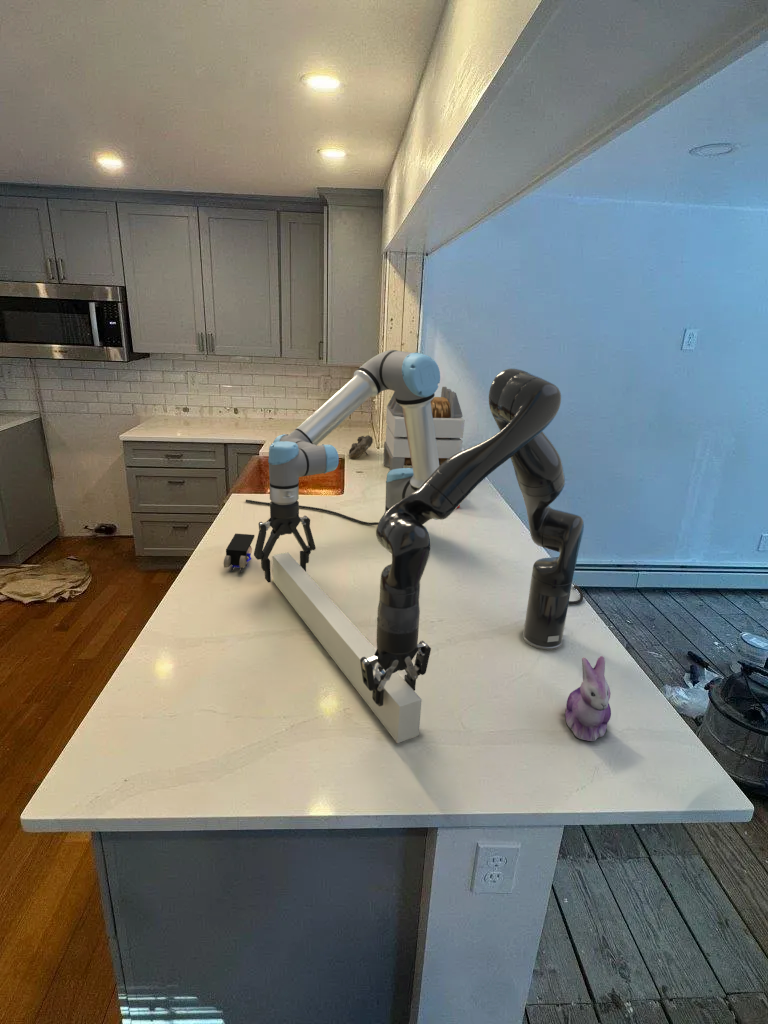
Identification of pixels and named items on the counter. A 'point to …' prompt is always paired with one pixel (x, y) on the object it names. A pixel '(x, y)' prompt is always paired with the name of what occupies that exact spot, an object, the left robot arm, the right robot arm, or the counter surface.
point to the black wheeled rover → (238, 551)
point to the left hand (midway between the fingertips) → (285, 577)
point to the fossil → (360, 446)
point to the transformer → (445, 428)
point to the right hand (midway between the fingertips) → (393, 698)
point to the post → (347, 647)
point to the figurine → (590, 703)
